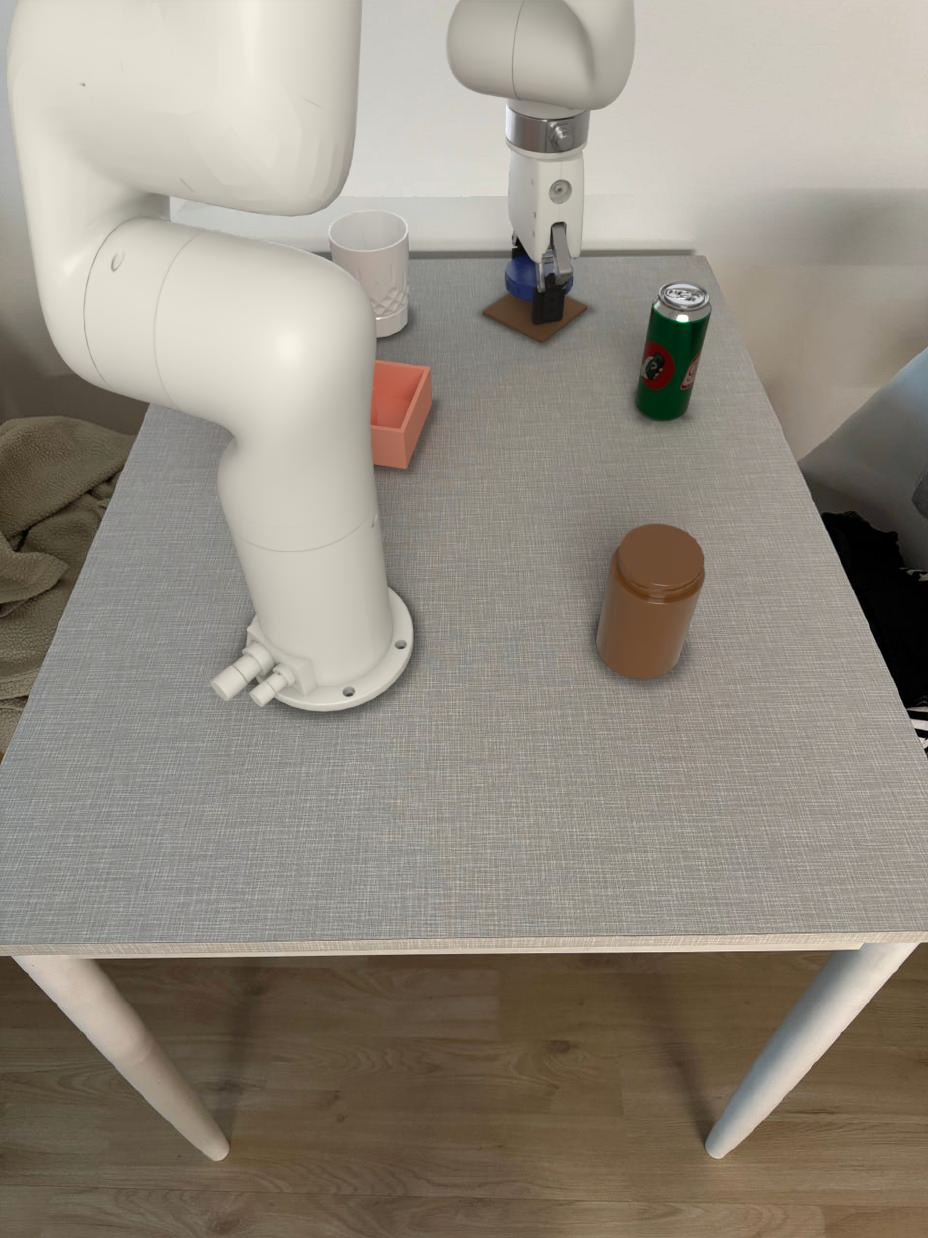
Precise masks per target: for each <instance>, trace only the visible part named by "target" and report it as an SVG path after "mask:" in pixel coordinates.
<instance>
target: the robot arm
mask: <svg viewBox="0 0 928 1238" xmlns="http://www.w3.org/2000/svg"><path fill="white" fill-rule="evenodd" d="M362 19H363V0H17V1H16V4H15V7H14V11H13V14H12V16H11V21H10V28H9V32H8V37H7V42H6V43H7V44H6V54H5V55H6V56H5V78H6V79H5V80H6V92H7V93H6V94H7V101H8V108H9V110H8V111H9V117H10V119H9V120H10V124H11V125H10V126H11V131H12V138H13V144H14V151H15V156H16V163H17V168H18V176H19V183H20V189H21V196H22V200H23V201H22V202H23V207H24V213H25V214H24V215H25V219H26V227H27V232H28V238H29V245H30V251H31V257H32V258H31V259H32V264H33V270H34V275H35V281H36V286H37V287H36V288H37V292H38V293H37V294H38V298H39V302H40V307H41V312H42V315H43V319H44V323H45V326H46V329H47V332H48V333H49V337H50V339H51V342H52V344H53V346H54V347H55V350H56V351H57V353H58V354H59V356H60V357H61V359H62V360H63V362H64V363H65V365H66V366H68V368H70V369H71V371H72V372H73V373H75V374H76V375H77V376H79V377H80V378H81V379H82V380H84V381H86V382H88V383H89V384H91V385H93V386H96V387H98V388H100V389H103V390H106V391H109V392H111V393H114V394H117V395H121V396H124V397H127V398H130V399H134V400H136V401H139V402H140V401H141V402H143V403H144V402H145V403H148V404H152V405H155V406H159V407H162V408H166V409H169V410H173V411H177V412H180V413H184V414H186V415H187V416H191V417H194V418H198V419H202V420H204V421H208V422H210V423H214V424H216V425H218V426H221V427H222V428H224V429H226V430H227V431H228V432H229V433H230V434H231V435H232V436H233V437H232V439H231V440H230V441H229V443H228V445H227V446H226V447H225V449H224V451H223V453H222V454H221V457H220V458H219V459H220V460H219V462H218V466H217V472H216V489H217V494H218V500H219V502H220V505H221V506H220V507H221V509H222V512H223V515H224V518H225V522H226V524H227V526H228V527H227V528H228V530H229V533H230V536H231V540H232V542H233V545H234V549H235V551H236V554H237V559H238V561H239V564H240V568H241V571H242V574H243V577H244V580H245V583H246V586H247V589H248V593H249V596H250V599H251V603H252V605H253V609H254V611H255V614H254V617H253V618H252V620H251V622H250V624H249V625H248V626H247V627H246V632H247V633H246V634H247V635H246V644H245V647H244V648H243V649H241V654H242V655H241V657H239V658H238V659H237V660H236V661H235V662H233V663H232V664H229V665H227V666H226V667H225V668H224V669H223V670H221V671H220V672H219V673H218V674H216V675H215V676H214V677H213V678H212V679H210V681H209V684H210V686H211V688H212V689H213V690H214V691H215V693H216V694H217V695H218V696H219V698H221V699H222V700H223V701H225V702H230V701H231V700H232V699H234V698H235V696H237V695H238V694H239V693H240V692H242V691H243V690H244V689H246V687H248V684H249V683H251V682H252V681H253V680H254V679H256V681H257V683H258V684H257V685H256V686H255V687H254V688H252V690H250V691H249V692H248V694H249V696H250V699H252V701H253V702H254V703H255V704H256V705H257V706H259V707H260V708H263V707H265V706H266V705H267V704H268V703H270V702H271V700H272V699H274V698H275V699H276V700H277V701H279V702H282V703H284V704H286V705H288V706H290V707H293V708H297V709H301V710H305V711H310V712H312V711H313V712H325V713H326V712H334V711H343V710H346V709H350V708H354V707H357V706H360V705H362V704H365V703H367V702H369V701H371V700H373V699H375V698H377V696H379V695H381V694H383V693H384V692H385V691H387V690H388V689H389V688H390V687H391V686H392V685H394V683H395V682H397V680H398V679H399V678H400V677H401V675H402V674H403V673H404V671H405V670H406V669H407V666H408V663H409V662H410V659H411V657H412V653H413V649H414V643H415V641H414V640H415V639H414V626H413V620H412V615H411V614H410V611H409V609H408V606H407V605H406V603H405V602H404V600H403V599H402V598H401V596H399V594H398V593H396V591H394V590H393V589H392V588H391V587H389V586H388V577H387V569H386V568H387V567H386V562H385V561H386V560H385V553H384V546H383V545H384V543H383V535H382V528H381V519H380V510H379V501H378V493H377V485H376V478H375V470H374V464H373V459H372V447H371V424H370V423H371V398H372V386H373V377H374V368H375V360H376V356H377V342H378V341H377V339H378V338H377V333H376V319H375V314H374V310H373V307H372V304H371V301H370V299H369V297H368V295H367V293H366V292H365V290H364V289H363V287H362V286H361V285H360V284H359V282H358V281H357V280H356V279H355V278H354V277H353V276H351V275H350V274H349V273H348V272H347V271H345V270H344V269H343V268H341V267H340V266H338V265H336V264H335V263H333V261H331V260H329V259H327V258H326V257H323V256H322V255H321V256H320V255H318V254H315V253H313V252H311V251H308V250H306V249H303V248H299V247H295V246H291V245H288V244H283V243H279V242H274V241H270V240H265V239H261V238H256V237H253V236H248V235H244V234H239V233H233V232H229V231H225V230H220V229H209V228H204V227H199V226H195V225H190V224H185V223H181V222H176V221H172V220H171V197H172V198H177V199H181V200H186V201H190V202H191V201H192V202H194V203H195V202H196V203H200V204H205V205H210V206H213V207H220V208H224V209H229V210H234V211H238V212H239V211H240V212H245V213H251V214H259V215H264V216H274V217H275V216H276V217H288V218H289V217H291V218H292V217H302V216H310V215H314V214H316V213H318V212H320V211H323V210H325V209H328V207H330V206H331V205H332V204H333V203H334V202H335V200H336V199H338V198H339V196H340V195H341V193H342V192H343V189H344V187H345V185H346V183H347V180H348V178H349V174H350V171H351V167H352V164H353V158H354V152H355V143H356V136H357V122H358V106H359V88H360V87H359V86H360V66H361V45H362V44H361V43H362V24H363V23H362V22H363V20H362ZM636 39H637V0H458V1H457V3H456V5H455V7H454V9H453V11H452V13H451V15H450V18H449V21H448V25H447V29H446V35H445V54H446V55H445V56H446V60H447V64H448V67H449V70H450V72H451V74H452V75H453V77H454V79H455V80H456V81H457V82H458V84H460V85H461V86H463V87H464V88H466V89H467V90H469V91H471V92H474V93H477V94H481V95H486V96H491V97H495V98H496V97H497V98H502V99H506V102H505V128H504V129H505V131H504V132H505V135H504V136H505V137H504V141H505V145H506V146H507V147H508V148H509V149H510V157H509V169H508V187H507V190H508V191H507V213H508V219H509V222H510V224H511V225H510V226H511V227H512V229H513V230H512V234H511V244H512V248H511V259H510V261H511V260H513V259H514V258H516V257H518V256H521V255H526V254H528V255H529V257H530V258H531V259H532V260H533V261H534V262H535V263H536V276H537V287H534V290H533V306H532V322H533V324H534V325H539V324H545V323H551V322H558V321H561V320H562V318H563V309H564V298H565V296H566V295H565V289H566V288H567V283H568V280H569V278H570V277H571V276H572V267H573V266H572V267H571V265H572V262H571V259H574V260H576V259H578V258H579V257H580V255H581V254H582V253H581V252H582V245H583V243H582V242H583V229H584V209H585V162H584V153H583V150H584V149H585V148H586V147H587V145H588V142H589V141H588V140H589V130H590V129H589V128H590V122H591V121H590V120H591V111H597V110H602V109H605V108H607V107H609V106H610V105H612V104H613V103H614V102H615V101H617V99H618V98H619V97H620V95H621V94H622V93H623V91H624V89H625V87H626V85H627V83H628V80H629V78H630V75H631V71H632V67H633V64H634V58H635V50H636V41H637V40H636ZM550 250H551V254H553V256H546V257H542V254H545V253H547V251H550ZM550 263H554V270H553V273H549V274H548V275H547V276H546V277H545V269H544V264H550Z"/></svg>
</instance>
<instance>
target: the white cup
mask: <svg viewBox="0 0 928 1238" xmlns="http://www.w3.org/2000/svg"><path fill="white" fill-rule="evenodd" d="M409 230H410V228H409V225H408V223H407V221H406V220H405V219H404V218H403V217H402V216H400V215H398V214H396V213H394V212H391V211H388V210H382V209H381V210H380V209H361V210H355V211H351V212H348V213H345V214H343V215H341V216H339V217H337V218H335V219H334V220H333V221H332V222H331V223H330V224H329V226H328V229H327V238H328V243H329V248H330V252H331V253H330V254H331V260H332V262H333V263H335V264H336V265H338V266H340V267H341V268H343V269H344V270H345V271H347V272H348V273H349V274H350V275H351V276H353V277H354V278H355V279H356V280H357V281H358V282H359V284H360V285H361V286H362V287H363V289H364V290H365V292H366V293H367V295H368V297H369V299H370V301H371V304H372V307H373V310H374V314H375V319H376V333H377V339H378V338H386V337H390V336H392V335H395V334H396V333H399V332H401V331H402V330H403V329H404V327H405V326H407V324H408V321H409V298H410V241H409V240H410V237H409V236H410V235H409V232H410V231H409Z"/></svg>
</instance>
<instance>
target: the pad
mask: <svg viewBox="0 0 928 1238" xmlns="http://www.w3.org/2000/svg"><path fill="white" fill-rule="evenodd" d="M532 306H533V301H526V300H523V299H520V298H517V297H515V296H513V295H512V294H511V293H509V292H508V294H506V295H504V296H503V297H501V298H500V299H499V300H497V301H495V302H494V303H493V304H491V305H490V306H489V307H487V308H486V309H484V310H483V311H482V315H483V316H485V317H487V318H489V319H492V320H494V321H495V322H497V323H500V324H502V325H504V326H506V327H508V328H510V329H513V330H514V331H516V332H519V333H520V334H523V335H525V336H526V337H529V338H531V339H533V340H535V341H537V342H539V343H541V344H543V343H545V341H547V340H549V338H551V337H552V336H553V335H555V334H556V333H558V332H559V331H560V330H561V329H563V328H564V327H565V326H567V325H568V324H569V323H571V322H572V321H574V320H575V319H576V318H577V317H579V316H580V315H581V314H583V313H584V312H586V310H588V305H587V304H584V303H582V302H580V301H578V300H575V299H573V298H571V297H569V296H567V295H565V298H564V309H563V318H562V320H561V321H558V322H551V323H545V324H539V325H534V324H533V322H532Z"/></svg>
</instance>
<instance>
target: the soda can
mask: <svg viewBox="0 0 928 1238" xmlns="http://www.w3.org/2000/svg"><path fill="white" fill-rule="evenodd" d="M710 300H711V296H710V293H709V291H708V290H707V289H706V288H705V287H703V286H702V285H701V284H699V283H696V282H692V281H686V280H675V281H670V282H668V283H665V284H664V285H662V286H661V287H660V288H659V291H658V294H657V295H656V296H654V298H653V300H652V303H651V308H650V313H649V320H648V325H647V330H646V336H645V342H644V347H643V351H642V352H643V353H642V358H641V362H640V363H641V364H640V368H639V374H638V380H637V385H636V391H635V396H634V404H635V407H636V408H637V410H638V411H639V413H640V414H642V415H643V416H644V417H645V418H646V419H649V420H652V421H656V422H672V421H674V420H676V419H678V418H680V417H682V416H684V414H685V413H686V412H687V411H688V409H689V406H690V401H691V397H692V392H693V389H694V384H695V381H696V376H697V372H698V369H699V363H700V360H701V356H702V352H703V347H704V343H705V340H706V334H707V331H708V326H709V322H710V318H711V314H712V312H713V311H712V310H713V308H712V307H713V306H712V304H711V302H710Z"/></svg>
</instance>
